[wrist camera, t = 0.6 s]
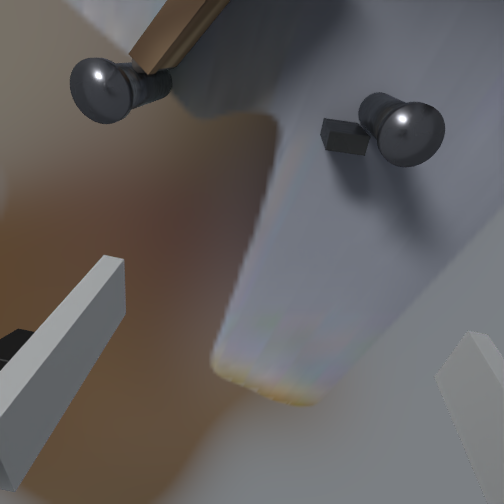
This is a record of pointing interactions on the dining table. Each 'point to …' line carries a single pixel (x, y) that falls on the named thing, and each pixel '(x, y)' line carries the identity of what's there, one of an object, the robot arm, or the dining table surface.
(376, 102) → the post
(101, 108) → the hinge post
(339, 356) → the dining table surface
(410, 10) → the dining table surface
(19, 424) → the robot arm
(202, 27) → the brown wooden board
